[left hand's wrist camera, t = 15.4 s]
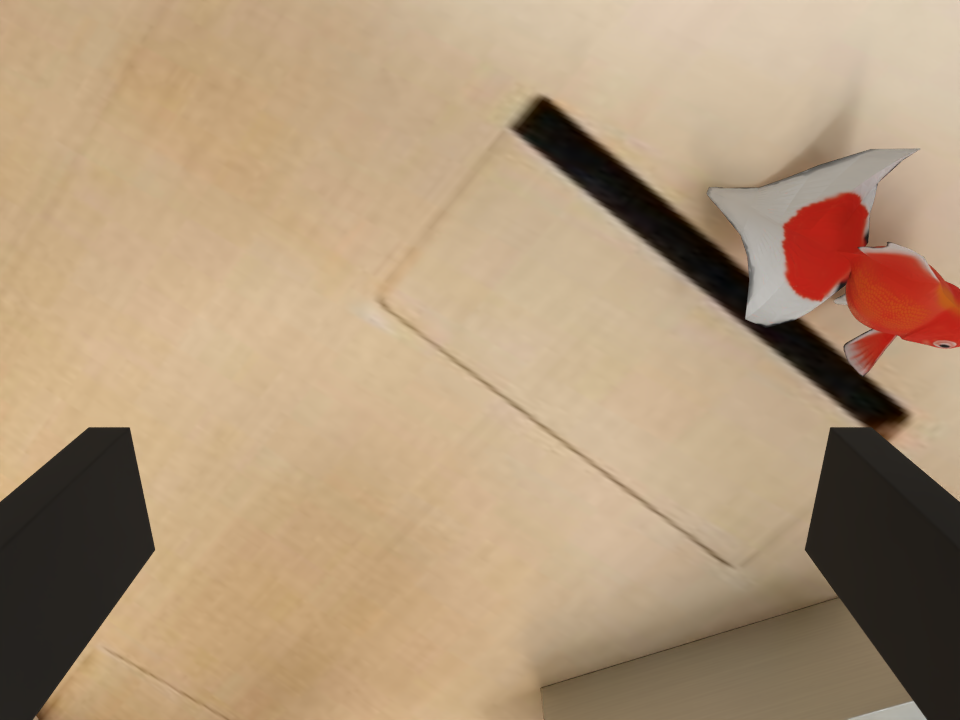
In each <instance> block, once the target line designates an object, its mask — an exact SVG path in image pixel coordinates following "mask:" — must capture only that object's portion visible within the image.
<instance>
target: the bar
mask: <svg viewBox="0 0 960 720" xmlns="http://www.w3.org/2000/svg"><path fill="white" fill-rule="evenodd" d="M541 697H542V707H543V717H544V720H927V719H926V718H925V716H924V715H923V714H922V712H921V711H920V709H919V708H918V707H917V705H916V704H915V702H914V701H913V700H912V698H911V697H910V695H909V694H908V693H907V691H906V690H905V689H904V687H903V686H902V684H901V683H900V682H899V680H898V679H897V677H896V676H895V675H894V673H893V672H892V670H891V669H890V668H889V666H888V665H887V663H886V662H885V661H884V659H883V658H882V656H881V655H880V654H879V652H878V651H877V650H876V648H875V647H874V645H873V644H872V643H871V641H870V640H869V638H868V637H867V636H866V634H865V633H864V631H863V630H862V629H861V627H860V626H859V624H858V623H857V622H856V620H855V619H854V618H853V616H852V615H851V613H850V612H849V611H848V609H847V608H846V606H845V605H844V604H843V602H842V601H841V599H840V598H836V599H833V600H830V601H826V602H823V603H820V604H817V605H813V606H810V607H807V608H803V609H800V610H797V611H793V612H790V613H787V614H784V615H780V616H777V617H774V618H770V619H767V620H764V621H761V622H757V623H754V624H751V625H747V626H744V627H741V628H737V629H734V630H731V631H728V632H724V633H721V634H718V635H714V636H711V637H708V638H705V639H701V640H698V641H695V642H691V643H688V644H685V645H682V646H678V647H675V648H672V649H668V650H665V651H662V652H658V653H655V654H652V655H649V656H645V657H642V658H639V659H635V660H632V661H629V662H626V663H622V664H619V665H616V666H612V667H609V668H606V669H603V670H599V671H596V672H593V673H589V674H586V675H583V676H579V677H576V678H573V679H570V680H566V681H563V682H560V683H556V684H553V685H550V686H547V687H543V688H541Z"/></svg>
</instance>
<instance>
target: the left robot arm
mask: <svg viewBox="0 0 960 720" xmlns="http://www.w3.org/2000/svg"><path fill="white" fill-rule="evenodd" d="M154 551H155V547H154V542H153V537H152V532H151V528H150V523H149V518H148V513H147V508H146V504H145V499H144V494H143V489H142V484H141V480H140V475H139V470H138V465H137V460H136V456H135V451H134V446H133V441H132V436H131V432H130V427H89V428H88V429H86V430H85V431H84V432H83V433H82V434H80V435H79V436H78V437H77V438H76V439H74V440H73V441H72V442H71V443H70V444H69V445H67V446H66V447H65V448H64V449H63V450H61V451H60V452H59V453H58V454H57V455H56V456H54V457H53V458H52V459H51V460H50V461H48V462H47V463H46V464H45V465H44V466H42V467H41V468H40V469H39V470H38V471H37V472H35V473H34V474H33V475H32V476H31V477H29V478H28V479H27V480H26V481H25V482H23V483H22V484H21V485H20V486H19V487H18V488H16V489H15V490H14V491H13V492H12V493H10V494H9V495H8V496H7V497H6V498H4V499H3V500H2V501H1V502H0V720H33V719H34V718H35V716H36V715H37V714H38V712H39V711H40V709H41V708H42V707H43V705H44V704H45V702H46V701H47V700H48V698H49V697H50V695H51V694H52V693H53V691H54V690H55V688H56V687H57V686H58V684H59V683H60V682H61V680H62V679H63V677H64V676H65V675H66V673H67V672H68V670H69V669H70V668H71V666H72V665H73V663H74V662H75V661H76V659H77V658H78V656H79V655H80V654H81V652H82V651H83V650H84V648H85V647H86V645H87V644H88V643H89V641H90V640H91V638H92V637H93V636H94V634H95V633H96V631H97V630H98V629H99V627H100V626H101V624H102V623H103V622H104V620H105V619H106V618H107V616H108V615H109V613H110V612H111V611H112V609H113V608H114V606H115V605H116V604H117V602H118V601H119V599H120V598H121V597H122V595H123V594H124V592H125V591H126V590H127V588H128V587H129V586H130V584H131V583H132V581H133V580H134V579H135V577H136V576H137V574H138V573H139V572H140V570H141V569H142V567H143V566H144V565H145V563H146V562H147V560H148V559H149V558H150V556H151V555H152V554H153V552H154ZM805 551H806V552H807V554H808V555H809V556H810V558H811V559H812V560H813V562H814V563H815V565H816V566H817V567H818V569H819V570H820V572H821V573H822V574H823V576H824V577H825V579H826V580H827V581H828V583H829V584H830V586H831V587H832V588H833V590H834V591H835V592H836V594H837V595H838V597H839V598H840V599H841V601H842V602H843V604H844V605H845V606H846V608H847V609H848V611H849V612H850V613H851V615H852V616H853V618H854V619H855V620H856V622H857V623H858V624H859V626H860V627H861V629H862V630H863V631H864V633H865V634H866V636H867V637H868V638H869V640H870V641H871V643H872V644H873V645H874V647H875V648H876V650H877V651H878V652H879V654H880V655H881V656H882V658H883V659H884V661H885V662H886V663H887V665H888V666H889V668H890V669H891V670H892V672H893V673H894V675H895V676H896V677H897V679H898V680H899V682H900V683H901V684H902V686H903V687H904V689H905V690H906V691H907V693H908V694H909V695H910V697H911V698H912V700H913V701H914V702H915V704H916V705H917V707H918V708H919V709H920V711H921V712H922V714H923V715H924V716H925V718H926V719H927V720H960V502H959V501H958V500H957V499H956V498H954V497H953V496H952V495H951V494H950V493H948V492H947V491H946V490H945V489H944V488H942V487H941V486H940V485H939V484H938V483H937V482H935V481H934V480H933V479H932V478H931V477H929V476H928V475H927V474H926V473H925V472H923V471H922V470H921V469H920V468H919V467H918V466H916V465H915V464H914V463H913V462H912V461H910V460H909V459H908V458H907V457H906V456H904V455H903V454H902V453H901V452H900V451H899V450H897V449H896V448H895V447H894V446H893V445H891V444H890V443H889V442H888V441H887V440H886V439H884V438H883V437H882V436H881V435H880V434H878V433H877V432H876V431H875V430H874V429H872V428H871V427H830V432H829V436H828V441H827V446H826V451H825V456H824V460H823V465H822V470H821V475H820V480H819V484H818V489H817V494H816V499H815V504H814V508H813V513H812V518H811V523H810V528H809V532H808V537H807V542H806V547H805Z"/></svg>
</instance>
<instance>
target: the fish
mask: <svg viewBox="0 0 960 720" xmlns="http://www.w3.org/2000/svg"><path fill="white" fill-rule="evenodd" d="M918 150H920V149H870V150H867V151H863V152H860V153H857V154H854V155H850V156H847V157H844V158H841V159H837V160H834V161H831V162H828V163H824V164H821V165H818V166H816V167H813V168H811V169H808V170H806V171H803V172H801V173H798V174H796V175H793V176H790V177H788V178H785V179H782V180H779V181H777V182H774V183H771V184H768V185H765V186H762V187H759V188H720V187H709V189H708V191H707V195H708V196H709V198H710V199H711V200H712V201H713V202H714V204H715V205H716V206H717V207H718V208H719V209H720V210H721V211H722V213H723V214H724V215H725V216H726V218H727V219H728V220H729V221H730V223H731V224H732V225H733V226H734V228H735V229H736V230H737V231H738V233H739V234H740V235H741V238H742V241H743V244H744V247H745V250H746V253H747V257H748V269H749V290H748V300H747V309H746V318H745V319H746V320H749V321H751V322H754V323H756V324H758V325H761V326H763V327H766V328H767V327H771V326H774V325H778V324H782V323H786V322H790V321H794V320H796V319H797V318H799V317H801V316H803V315H805V314H807V313H809V312H810V311H812V310H813V309H815V308H816V307H817V306H819V305H820V304H822V303H823V302H824V301H825V300H827V299H828V298H829V297H831V296H832V295H833V294H835V293H836V292H837V291H838V290H840V289H841V288H842V287H844V286H845V285H846V294H844V295H842V296H840V297H838V298H836V299H835V300H834V303H836V304H843V305H848V307H849V309H850V311H851V312H852V314H853V316H854V317H855V318H856V319H857V320H858V321H859V322H861V323H862V324H864V325H866V326H868V327H869V328H872V329H871V330H869V331H867V332H865V333H863V334H861V335H860V336H858V337H856V338H854V339H853V340H851V341H849V342H847V343H846V344H845V345H844V352H845V355H846V357H847V360H848V362H849V363H850V364H851V365H852V366H853V368H854V369H855V370H856V371H857V372H858V373H859V374H860V375H861V376H862V377H864V375H865V374H866V373H867V372H869V370H870V369H871V368H872V367H873V366H874V364H875V363H876V361H877V360H878V359H879V357H880V356H881V355H882V354H883V352H884V351H885V349H886V348H887V347H888V346H889V345H890V343H891V342H892V341H893V340H894V339H895V338H896V336H897V335H898V336H900V337H901V338H902V339H904V340H907V341H912V342H917V343H921V344H926V345H930V346H933V347H938V348H955V347H960V289H959V288H958V287H956V286H955V285H953V284H950V283H948V282H946V281H944V279H943V278H942V277H941V276H940V275H939V273H938V272H937V271H936V270H935V269H934V268H933V267H932V266H930V265H929V264H928V263H927V261H926V260H925V258H924V257H923V256H921V255H920V254H918V253H916V252H915V251H913V250H911V249H908V248H905V247H903V246H900V245H897V244H894V243H891V242H887V246H878V247H865V246H866V245H867V243H868V237H869V219H870V212H871V209H872V205H873V202H874V199H875V194H876V189H877V185H878V182H880V181H881V180H882V179H883V178H884V177H885V176H886V175H887V174H888V173H889V172H890V171H891V170H893V169H894V168H895V167H896V166H897V165H898V164H899V163H900V162H901V161H902V160H904V159H905V158H907V157H909V156H910V155H912V154H913V153H915V152H916V151H918Z"/></svg>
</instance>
